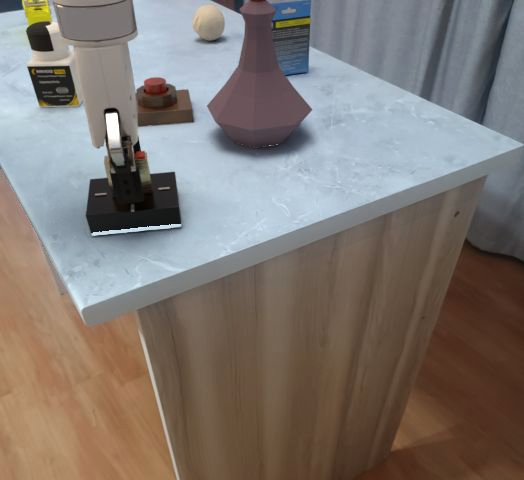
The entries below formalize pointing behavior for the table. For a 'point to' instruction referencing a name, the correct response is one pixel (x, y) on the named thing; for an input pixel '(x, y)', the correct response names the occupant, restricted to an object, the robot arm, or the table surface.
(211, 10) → the beige ball
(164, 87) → the button
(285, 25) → the blue product box
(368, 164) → the table surface
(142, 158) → the beige two-tone block
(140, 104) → the button block
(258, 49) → the flask
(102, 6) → the robot arm
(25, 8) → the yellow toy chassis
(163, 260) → the table surface
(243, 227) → the table surface
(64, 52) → the medicine bottle
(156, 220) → the lever switch base
